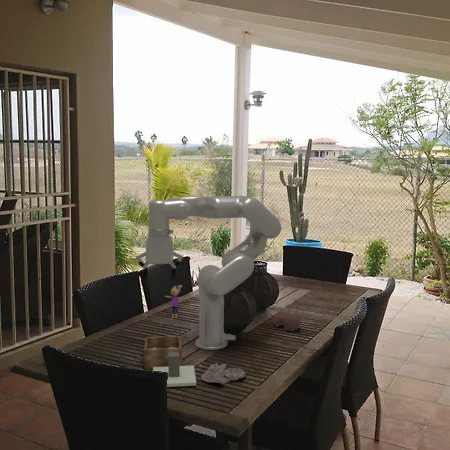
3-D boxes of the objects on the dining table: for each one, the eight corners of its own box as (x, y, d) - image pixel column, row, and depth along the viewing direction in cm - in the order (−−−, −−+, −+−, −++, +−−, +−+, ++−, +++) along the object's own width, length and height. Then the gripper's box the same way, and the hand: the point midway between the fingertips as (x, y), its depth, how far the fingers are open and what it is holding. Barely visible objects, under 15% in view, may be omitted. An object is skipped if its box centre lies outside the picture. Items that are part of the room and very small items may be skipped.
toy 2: (275, 332, 234) (297, 337, 222) (266, 318, 232) (288, 323, 220) (286, 319, 238) (309, 323, 226) (277, 306, 236) (300, 309, 223)
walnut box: (180, 353, 199) (180, 335, 198) (181, 367, 187) (181, 348, 186) (145, 355, 198) (145, 337, 197) (144, 369, 185) (144, 349, 184)
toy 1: (163, 317, 243) (162, 285, 241) (168, 314, 249) (168, 282, 247) (183, 320, 240) (183, 287, 238) (188, 316, 245) (188, 285, 243)
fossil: (243, 370, 187) (201, 374, 187) (243, 360, 187) (200, 364, 187) (247, 385, 170) (200, 389, 170) (246, 374, 170) (200, 378, 170)
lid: (193, 368, 185) (193, 346, 183) (196, 385, 171) (196, 361, 170) (153, 369, 183) (152, 347, 182) (152, 387, 169) (152, 363, 168)
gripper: (182, 231, 201) (182, 275, 203) (135, 232, 199) (136, 276, 201) (182, 234, 193) (183, 280, 195) (134, 235, 191) (135, 281, 193)
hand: (159, 278), depth 198 cm, fingers open, 9 cm apart
